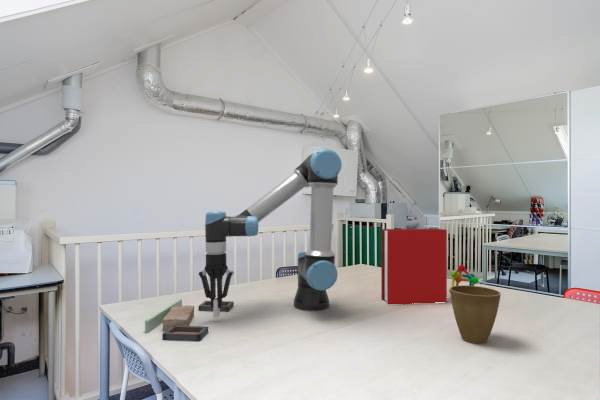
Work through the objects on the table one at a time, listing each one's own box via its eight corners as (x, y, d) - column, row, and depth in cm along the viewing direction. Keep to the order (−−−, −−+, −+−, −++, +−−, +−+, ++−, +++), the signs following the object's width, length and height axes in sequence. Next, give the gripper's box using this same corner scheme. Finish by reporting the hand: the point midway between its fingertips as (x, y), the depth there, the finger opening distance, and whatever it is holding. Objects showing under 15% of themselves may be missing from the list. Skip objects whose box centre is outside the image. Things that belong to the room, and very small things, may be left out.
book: (387, 304, 162) (387, 230, 162) (381, 300, 170) (381, 229, 170) (448, 303, 165) (448, 230, 165) (439, 298, 173) (439, 228, 173)
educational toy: (483, 301, 171) (484, 269, 170) (454, 301, 172) (455, 269, 170) (469, 290, 187) (470, 260, 185) (443, 290, 187) (443, 260, 186)
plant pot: (498, 352, 112) (498, 298, 112) (445, 342, 120) (445, 291, 120) (502, 336, 124) (502, 288, 124) (454, 328, 132) (454, 283, 132)
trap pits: (233, 306, 160) (233, 301, 160) (199, 341, 120) (199, 334, 120) (205, 305, 161) (205, 300, 161) (162, 339, 122) (162, 333, 122)
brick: (186, 331, 130) (186, 317, 130) (161, 332, 129) (161, 318, 129) (194, 317, 147) (194, 304, 147) (172, 317, 146) (172, 305, 146)
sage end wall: (181, 308, 156) (181, 299, 156) (148, 332, 128) (148, 320, 128) (179, 308, 156) (179, 299, 156) (145, 332, 128) (145, 320, 128)
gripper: (235, 251, 144) (236, 313, 144) (202, 251, 145) (203, 313, 145) (230, 254, 136) (230, 319, 136) (195, 254, 137) (195, 319, 137)
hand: (216, 316), depth 140 cm, fingers closed
